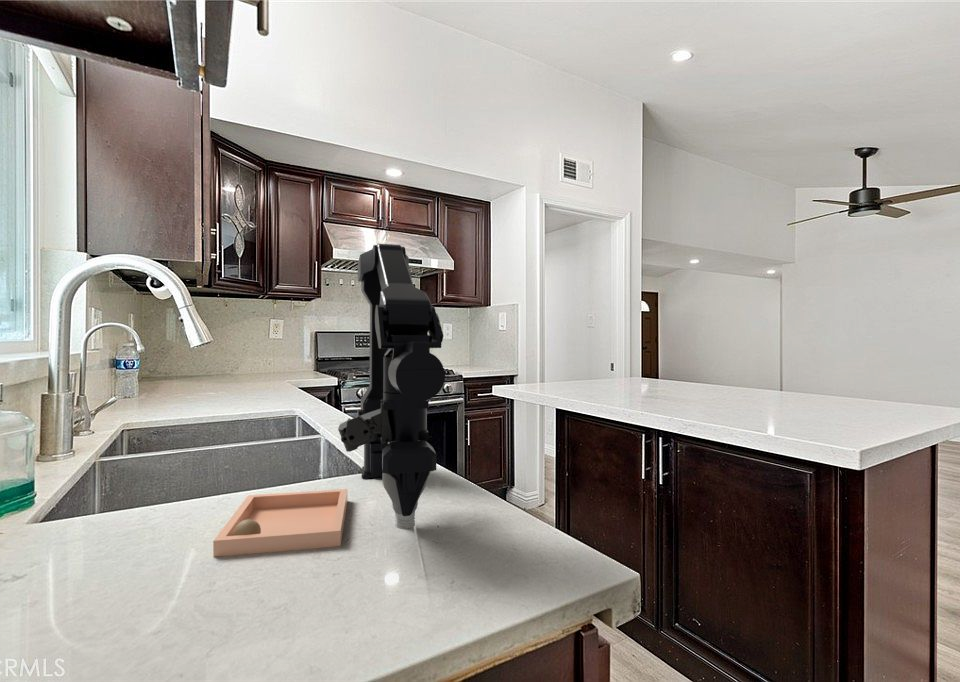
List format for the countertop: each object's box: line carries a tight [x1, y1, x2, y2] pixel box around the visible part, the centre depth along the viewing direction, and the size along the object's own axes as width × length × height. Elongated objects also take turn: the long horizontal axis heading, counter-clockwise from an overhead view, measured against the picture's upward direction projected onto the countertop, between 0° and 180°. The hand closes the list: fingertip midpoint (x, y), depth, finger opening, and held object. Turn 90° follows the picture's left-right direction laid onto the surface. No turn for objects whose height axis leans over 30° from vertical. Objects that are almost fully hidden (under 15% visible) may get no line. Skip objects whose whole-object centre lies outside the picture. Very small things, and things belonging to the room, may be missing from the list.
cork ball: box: [233, 519, 261, 536], centre depth 59 cm, size 3×3×3 cm
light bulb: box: [381, 473, 429, 529], centre depth 65 cm, size 6×6×10 cm
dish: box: [212, 488, 349, 558], centre depth 65 cm, size 16×14×2 cm
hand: (405, 507), depth 65 cm, fingers closed on light bulb, 5 cm apart
